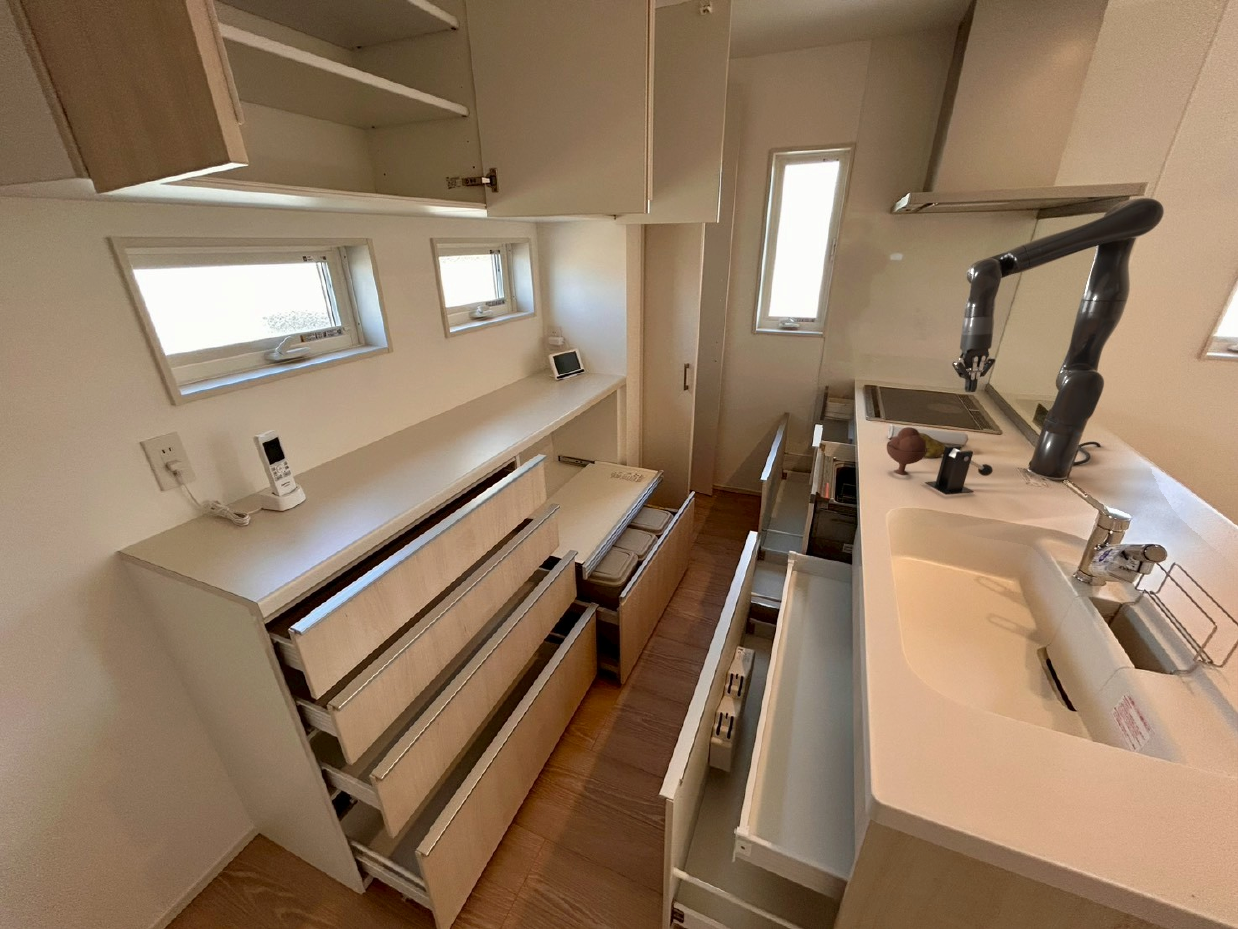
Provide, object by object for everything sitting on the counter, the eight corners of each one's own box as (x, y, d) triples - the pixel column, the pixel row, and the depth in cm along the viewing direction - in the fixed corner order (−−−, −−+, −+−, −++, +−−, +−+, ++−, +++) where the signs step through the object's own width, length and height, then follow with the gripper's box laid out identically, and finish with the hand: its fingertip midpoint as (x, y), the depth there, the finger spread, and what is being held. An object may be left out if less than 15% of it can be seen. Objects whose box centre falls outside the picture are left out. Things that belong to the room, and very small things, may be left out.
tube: (966, 432, 178) (889, 424, 185) (972, 432, 172) (892, 424, 180) (964, 447, 178) (887, 438, 186) (969, 447, 173) (890, 438, 181)
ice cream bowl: (872, 471, 155) (882, 425, 150) (899, 466, 159) (909, 421, 153) (901, 484, 146) (912, 436, 140) (928, 479, 150) (941, 432, 144)
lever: (980, 474, 145) (987, 464, 144) (990, 479, 142) (998, 469, 141) (945, 456, 140) (953, 445, 139) (955, 460, 137) (963, 449, 136)
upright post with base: (950, 483, 147) (961, 442, 142) (972, 495, 140) (985, 452, 135) (923, 485, 145) (934, 444, 141) (944, 497, 138) (956, 455, 133)
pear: (949, 462, 162) (955, 439, 159) (904, 458, 166) (910, 435, 163) (942, 453, 169) (948, 431, 166) (900, 449, 173) (905, 427, 170)
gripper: (968, 334, 140) (961, 395, 145) (1008, 330, 142) (1000, 391, 147) (946, 334, 147) (941, 392, 152) (985, 330, 149) (978, 388, 154)
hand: (970, 391), depth 149 cm, fingers closed
